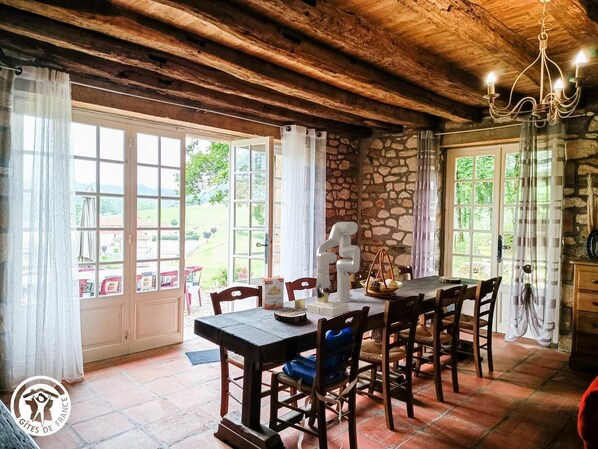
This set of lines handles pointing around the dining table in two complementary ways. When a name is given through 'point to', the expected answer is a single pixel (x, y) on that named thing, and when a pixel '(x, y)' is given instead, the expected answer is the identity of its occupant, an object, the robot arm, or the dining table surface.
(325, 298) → the brass weight
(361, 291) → the dining table surface
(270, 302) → the cracker box
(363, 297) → the dining table surface
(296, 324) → the dining table surface
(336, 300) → the robot arm
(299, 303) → the brass weight
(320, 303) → the kitchen scale
